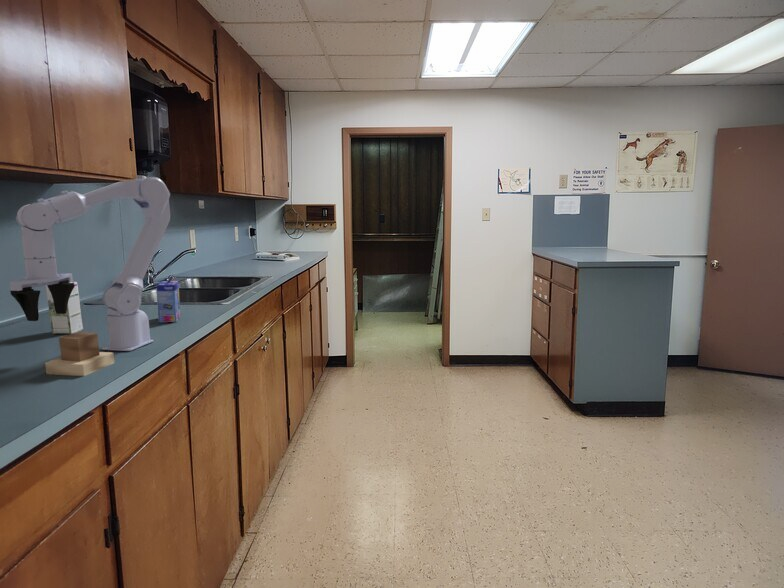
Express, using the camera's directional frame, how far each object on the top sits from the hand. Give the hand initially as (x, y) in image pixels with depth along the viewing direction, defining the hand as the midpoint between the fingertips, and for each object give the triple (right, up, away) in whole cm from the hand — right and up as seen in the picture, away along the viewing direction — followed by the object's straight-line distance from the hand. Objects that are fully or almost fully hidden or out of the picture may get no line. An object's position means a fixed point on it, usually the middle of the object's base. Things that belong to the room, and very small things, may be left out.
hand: (47, 317), depth 110 cm
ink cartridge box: (+7, -3, +45) cm, 45 cm away
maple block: (+10, -12, -4) cm, 16 cm away
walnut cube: (+10, -9, -4) cm, 14 cm away
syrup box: (-15, -6, +29) cm, 33 cm away
